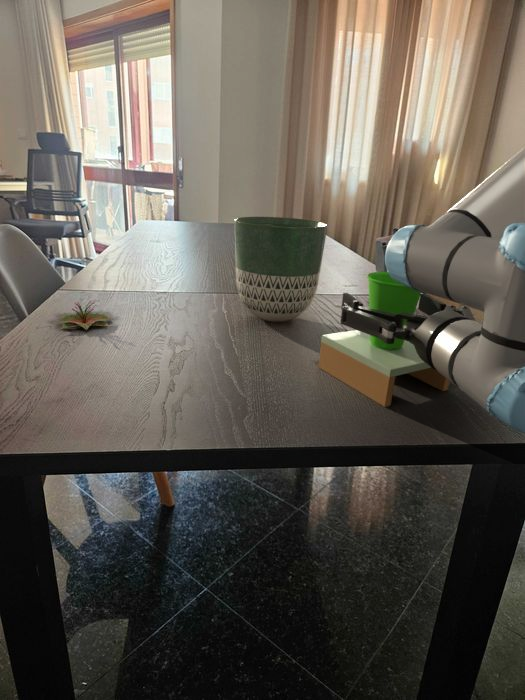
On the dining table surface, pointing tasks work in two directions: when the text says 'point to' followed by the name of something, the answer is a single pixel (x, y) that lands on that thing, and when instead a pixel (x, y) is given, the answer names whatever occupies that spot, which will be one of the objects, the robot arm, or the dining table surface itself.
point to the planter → (278, 264)
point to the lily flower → (84, 319)
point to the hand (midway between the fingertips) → (383, 301)
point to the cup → (390, 302)
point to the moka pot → (382, 251)
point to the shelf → (373, 365)
